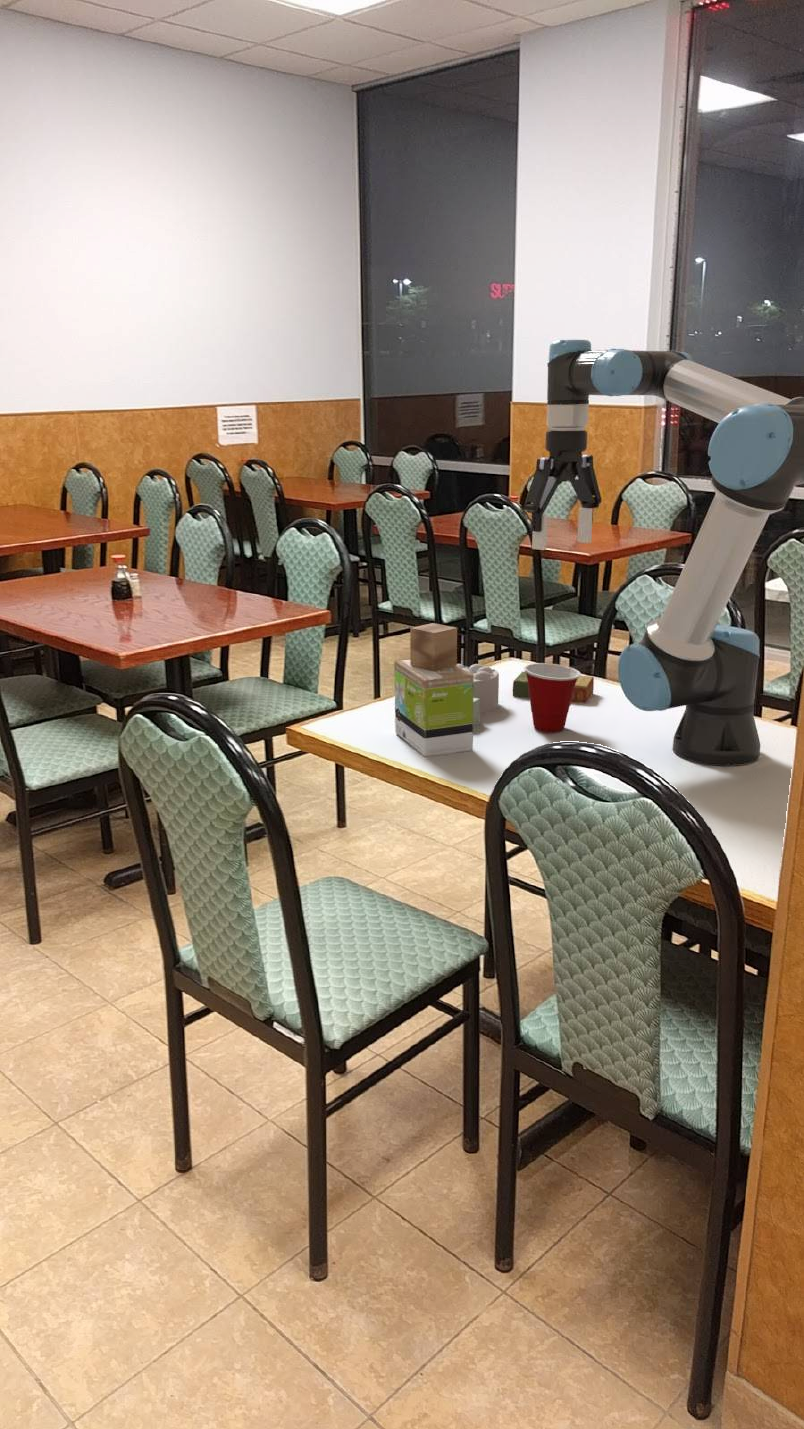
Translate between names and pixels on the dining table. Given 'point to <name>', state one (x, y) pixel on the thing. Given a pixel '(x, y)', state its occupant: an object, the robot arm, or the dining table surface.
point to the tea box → (434, 708)
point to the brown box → (433, 646)
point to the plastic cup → (550, 694)
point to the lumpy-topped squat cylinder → (484, 686)
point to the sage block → (476, 710)
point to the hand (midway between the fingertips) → (562, 546)
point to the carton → (580, 692)
